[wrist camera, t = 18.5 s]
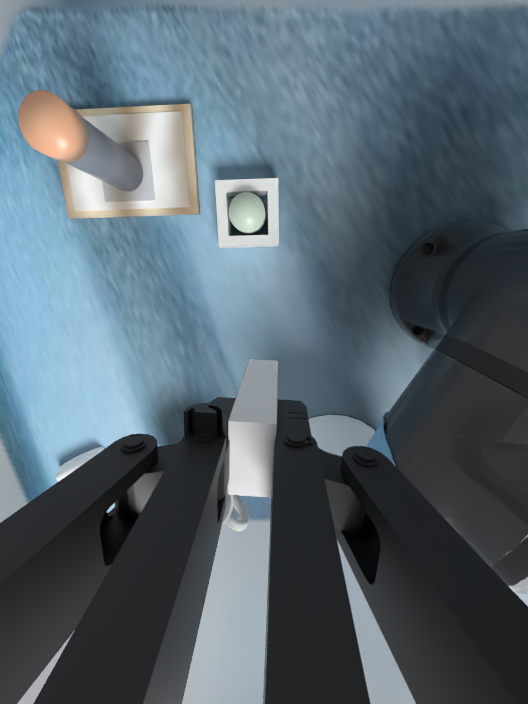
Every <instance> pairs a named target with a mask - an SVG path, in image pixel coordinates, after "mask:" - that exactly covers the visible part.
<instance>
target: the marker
mask: <svg viewBox="0 0 528 704" xmlns="http://www.w3.org/2000/svg"><path fill="white" fill-rule="evenodd" d="M19 124H20V128H21V131H22V134H23V136H24V138H25V139H26V141H27V142H28V143H29V144H30V145H31V146H32V147H33V148H34V149H36V150H37V151H39V152H41V153H43V154H45V155H47V156H49V157H51V158H54V159H56V160H58V161H60V162H64V163H67V164H69V165H71V166H73V167H75V168H77V169H79V170H81V171H83V172H85V173H87V174H89V175H91V176H93V177H95V178H98V179H100V180H102V181H104V182H106V183H108V184H110V185H112V186H114V187H116V188H118V189H120V190H122V191H127V192H129V191H133V190H135V189H137V188H138V187H139V186H140V184H141V182H142V179H143V169H142V166H141V164H140V162H139V160H138V159H137V158H136V157H135V156H133V155H132V154H131V153H129V152H128V151H127V150H125V149H124V148H123V147H121V146H120V145H119V144H118V143H116V142H115V141H114V140H112V139H111V138H110V137H108V136H107V135H106V134H104V133H103V132H102V131H100V130H99V129H98V128H96V127H95V126H94V125H92V124H91V123H90V122H88V121H87V120H86V119H84V118H83V117H82V116H81V115H80V114H79V113H78V112H77V111H76V110H74V109H73V108H72V107H70V106H69V105H68V104H67V103H65V102H64V101H63V100H61V99H60V98H59V97H57V96H56V95H55V94H53V93H51V92H48V91H44V90H37V91H34V92H32V93H30V94H28V95H27V96H26V97H25V98H24V100H23V101H22V103H21V106H20V110H19Z"/></svg>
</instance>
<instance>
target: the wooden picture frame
mask: <svg viewBox="0 0 528 704" xmlns="http://www.w3.org/2000/svg"><path fill="white" fill-rule="evenodd" d="M76 111H77V112H78V113H79V114H80V115H81V116H82V117H83V118H84V119H86V120H87V121H88V122H90V123H91V124H92V125H94V126H95V127H96V128H98V129H99V130H100V131H102V132H103V133H104V134H106V135H107V136H108V137H110V138H111V139H112V140H114V141H115V142H116V143H118V144H119V145H120V146H121V147H123V148H124V149H125V150H127V151H128V152H129V153H131V154H132V155H133V156H135V157H136V158H137V159H138V160H139V162H140V164H141V166H142V169H143V179H142V182H141V184H140V186H139V187H138V188H137V189H135V190H133V191H129V192H127V191H122V190H120V189H118V188H116V187H114V186H112V185H110V184H108V183H106V182H104V181H102V180H100V179H98V178H95V177H93V176H91V175H89V174H87V173H85V172H83V171H81V170H79V169H77V168H75V167H73V166H71V165H69V164H67V163H64V162H60V161H58V163H59V168H60V174H61V179H62V184H63V190H64V195H65V201H66V206H67V212H68V217H69V218H103V217H133V216H163V215H192V214H200V204H199V191H198V178H197V164H196V151H195V138H194V124H193V111H192V106H191V104H174V105H154V106H135V107H116V108H96V109H77V110H76Z"/></svg>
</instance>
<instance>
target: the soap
mask: <svg viewBox="0 0 528 704" xmlns="http://www.w3.org/2000/svg"><path fill="white" fill-rule="evenodd" d="M104 449H105V448H103V447H98V448H95V449H92V450H90V451H87V452H85V453H83V454H81V455H78V456H76V457H75V458H73V459H71V460H69V461H68V462H66V463H64V464H63V465H61V466H60V467H59V472H58V473H57V474H56V479H57V481H58V482H59V481H60V480H62V479H63V478H65V477H66V476H67V475H69V474H70V473H72V472H73V471H74V470H76V469H77V468H79V467H80V466H81V465H83V464H84V463H86V462H87V461H88V460H90V459H91V458H93V457H94V456H96V455H97V454H98V453H100V452H101V451H103V450H104ZM72 462H73V463H72Z"/></svg>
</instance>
